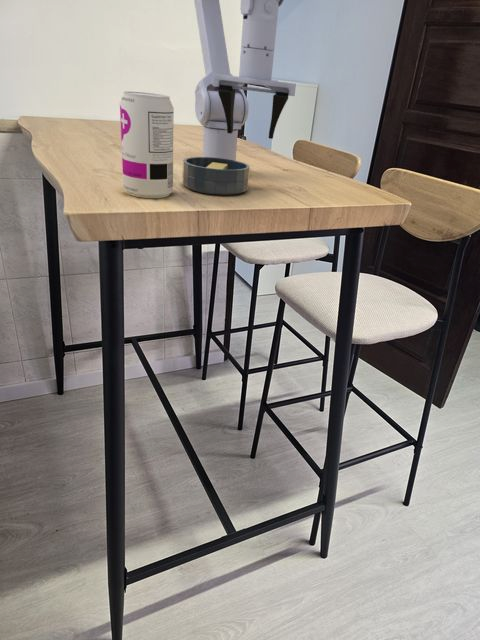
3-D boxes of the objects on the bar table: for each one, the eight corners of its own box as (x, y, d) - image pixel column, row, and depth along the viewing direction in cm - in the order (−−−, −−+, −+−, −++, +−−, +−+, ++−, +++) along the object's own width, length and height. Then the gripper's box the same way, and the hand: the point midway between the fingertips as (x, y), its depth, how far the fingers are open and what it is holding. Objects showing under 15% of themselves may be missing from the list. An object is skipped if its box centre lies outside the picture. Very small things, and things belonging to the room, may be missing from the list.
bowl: (190, 178, 95) (190, 154, 93) (250, 185, 95) (252, 161, 93) (175, 191, 84) (176, 164, 82) (243, 199, 84) (245, 173, 82)
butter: (211, 181, 92) (212, 162, 91) (226, 183, 92) (227, 164, 91) (204, 188, 86) (204, 168, 85) (220, 190, 86) (221, 170, 85)
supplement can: (122, 197, 77) (118, 93, 69) (124, 186, 84) (120, 89, 76) (173, 200, 79) (174, 98, 71) (171, 189, 86) (172, 95, 78)
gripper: (211, 43, 78) (207, 132, 85) (298, 53, 78) (288, 142, 85) (218, 45, 84) (214, 129, 91) (299, 55, 84) (289, 138, 91)
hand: (250, 135), depth 88 cm, fingers open, 7 cm apart
